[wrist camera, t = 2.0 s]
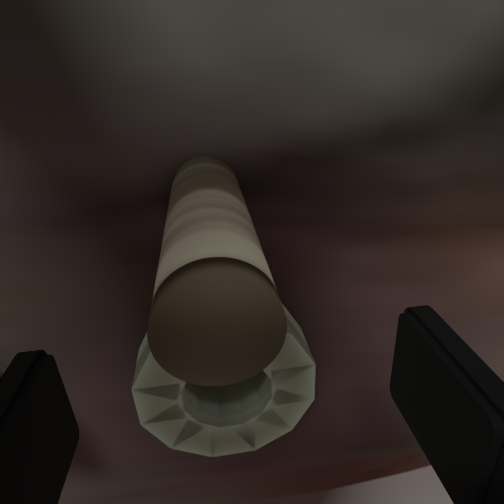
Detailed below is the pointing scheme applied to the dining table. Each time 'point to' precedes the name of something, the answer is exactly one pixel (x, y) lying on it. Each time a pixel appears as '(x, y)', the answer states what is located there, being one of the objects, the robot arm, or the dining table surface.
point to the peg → (213, 284)
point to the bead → (226, 402)
